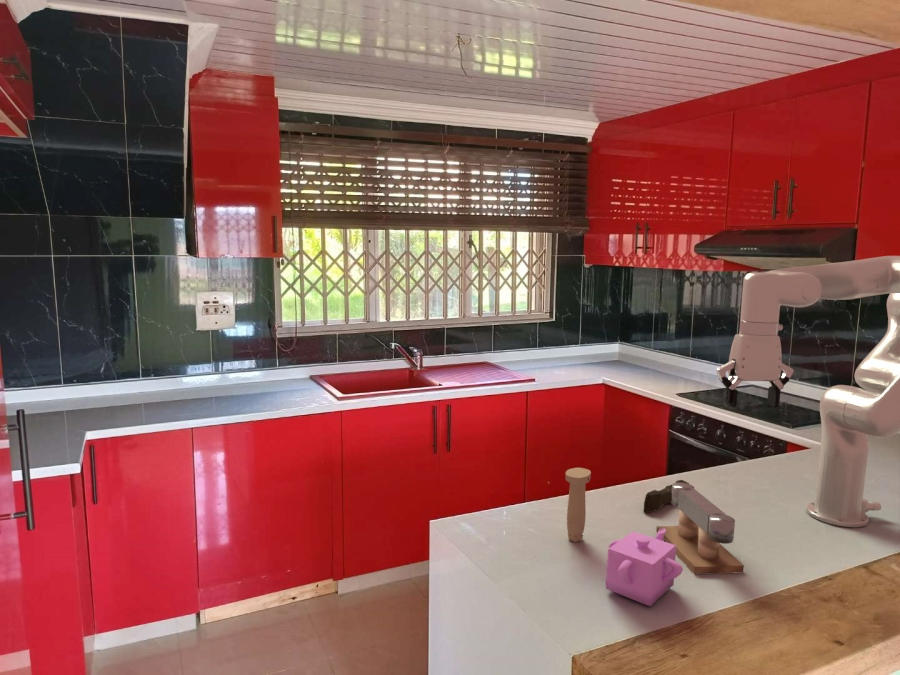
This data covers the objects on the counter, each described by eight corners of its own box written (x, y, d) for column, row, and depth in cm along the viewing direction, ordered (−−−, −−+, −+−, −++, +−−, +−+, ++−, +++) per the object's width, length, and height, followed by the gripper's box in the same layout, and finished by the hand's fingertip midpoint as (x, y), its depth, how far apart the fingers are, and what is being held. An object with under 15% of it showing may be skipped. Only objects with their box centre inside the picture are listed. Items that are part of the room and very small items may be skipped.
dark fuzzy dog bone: (676, 492, 165) (677, 475, 165) (690, 497, 162) (691, 479, 162) (633, 510, 153) (634, 492, 153) (648, 516, 150) (649, 497, 150)
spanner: (687, 499, 142) (688, 482, 142) (738, 543, 121) (739, 523, 121) (667, 499, 142) (668, 482, 141) (715, 543, 121) (716, 524, 120)
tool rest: (699, 531, 142) (701, 501, 141) (743, 572, 124) (746, 538, 123) (656, 532, 141) (658, 502, 140) (694, 574, 123) (696, 540, 122)
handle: (558, 541, 136) (561, 474, 134) (571, 530, 141) (574, 466, 139) (579, 547, 133) (582, 479, 131) (591, 536, 138) (594, 470, 136)
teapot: (631, 560, 128) (634, 513, 127) (700, 585, 119) (704, 534, 118) (586, 595, 115) (588, 543, 114) (660, 626, 106) (663, 570, 105)
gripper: (785, 327, 143) (778, 401, 145) (711, 327, 141) (706, 402, 144) (807, 331, 135) (799, 409, 138) (729, 331, 134) (723, 410, 136)
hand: (751, 405), depth 141 cm, fingers open, 9 cm apart
